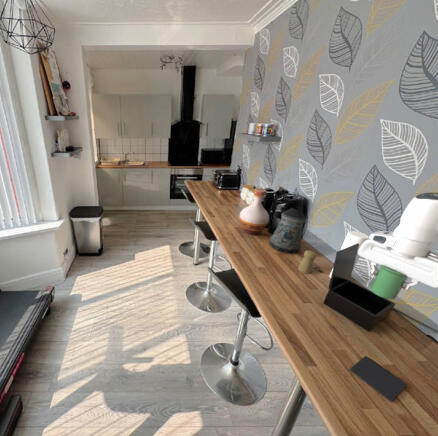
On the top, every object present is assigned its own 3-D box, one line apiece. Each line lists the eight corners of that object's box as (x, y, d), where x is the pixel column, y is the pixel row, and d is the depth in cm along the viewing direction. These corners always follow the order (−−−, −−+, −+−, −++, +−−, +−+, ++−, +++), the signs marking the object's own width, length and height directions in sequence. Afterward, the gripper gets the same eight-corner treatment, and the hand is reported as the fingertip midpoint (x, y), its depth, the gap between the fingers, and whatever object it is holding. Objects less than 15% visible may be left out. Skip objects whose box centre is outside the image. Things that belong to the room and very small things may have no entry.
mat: (406, 385, 69) (406, 384, 69) (391, 402, 65) (391, 401, 65) (365, 356, 77) (365, 355, 77) (349, 369, 73) (350, 368, 73)
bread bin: (386, 318, 92) (395, 303, 89) (367, 333, 86) (376, 317, 83) (342, 293, 105) (348, 279, 102) (322, 304, 98) (328, 289, 95)
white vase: (237, 223, 171) (245, 183, 159) (263, 228, 165) (274, 187, 153) (236, 235, 154) (245, 191, 142) (265, 240, 148) (278, 195, 136)
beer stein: (271, 251, 137) (282, 211, 127) (266, 236, 154) (275, 200, 144) (302, 256, 133) (317, 215, 122) (294, 240, 150) (306, 204, 140)
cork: (299, 265, 125) (306, 247, 120) (312, 270, 121) (320, 252, 116) (296, 269, 121) (302, 251, 116) (309, 275, 117) (317, 256, 112)
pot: (400, 296, 78) (415, 271, 74) (391, 302, 75) (406, 277, 71) (374, 283, 83) (387, 260, 79) (364, 289, 80) (377, 264, 76)
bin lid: (359, 244, 96) (357, 243, 97) (339, 252, 90) (336, 251, 90) (350, 279, 101) (348, 278, 102) (330, 289, 95) (328, 288, 95)
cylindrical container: (333, 283, 111) (354, 237, 101) (326, 274, 118) (344, 230, 108) (350, 285, 110) (373, 239, 100) (341, 276, 117) (362, 231, 107)
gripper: (465, 259, 64) (438, 298, 70) (373, 229, 81) (357, 262, 87) (457, 265, 62) (430, 305, 67) (364, 232, 78) (348, 266, 84)
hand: (388, 281), depth 77 cm, fingers closed on pot, 6 cm apart
